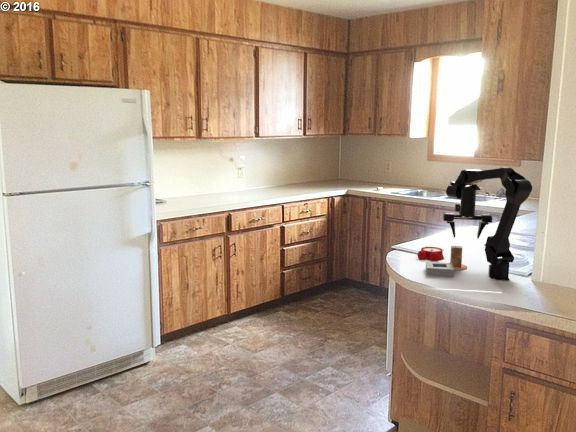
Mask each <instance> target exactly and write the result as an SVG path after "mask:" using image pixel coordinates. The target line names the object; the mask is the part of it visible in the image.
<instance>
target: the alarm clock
mask: <svg viewBox="0 0 576 432" xmlns="http://www.w3.org/2000/svg"><path fill="white" fill-rule="evenodd" d="M443 251H444V249H443V248H441V247H436V246H424V247H421V248H420V250H419V251H418V252H417V255H416V256H417V258H418V259H419V260H420V261H423V260H425V261H433V262H438V261H442V260H444V258H445V257H444V254H443V253H444V252H443Z"/></svg>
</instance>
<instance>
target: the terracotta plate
mask: <svg viewBox="0 0 576 432" xmlns="http://www.w3.org/2000/svg"><path fill="white" fill-rule="evenodd" d="M453 268H454V271H465V270H467V269H468V266H467V265H466V264H463V263H462V264H461V267H453Z"/></svg>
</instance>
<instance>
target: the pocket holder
mask: <svg viewBox="0 0 576 432" xmlns="http://www.w3.org/2000/svg"><path fill="white" fill-rule="evenodd" d="M425 272H426V276H427V277H444V278H445V277H446V278H454V277H455V270H454V268H453V265H452V263H450V262H442V261H441V262H438V261H425Z"/></svg>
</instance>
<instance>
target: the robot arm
mask: <svg viewBox="0 0 576 432" xmlns="http://www.w3.org/2000/svg"><path fill="white" fill-rule="evenodd" d="M494 179H499V180H500V182H501V186H503V188H504V189H505V192H504V194H505V198H506V202H505V205H504V208H503V211H502V214H501V217H500V219H499V222H498V225H497V228H496V231H495V233H494V235H490V236H487V238H486V242H485V244H484V253H485V258H486V261H487V263H489V264H488V274H487V275H488V277H489V278H490V279H492V280H498V281H510V277H509V274H510V263H513V262H514V260H515V256H514V255H513V253H512V252H511V250H510V247H511V243H510V239H509V237H510V235H511V232H512V230H513V228H514V224H515V221H516V219H517V216H518V213H519V211H520V208H521V206H522V204H523V203H524V202H525V201H527V199H528V198H529V196H530V195H531V192H532V191H533V185H532V183H531V181H529V179H527V178H526V177H525V176H523V175H522V174H520V173H519V172H517V171H515V169H513V168H512V167H510V166H502V167H499V168H492V169H484V170H483V169H462V170H461V171H460V173H459V175H458V177H457V178H456V179H455V181H449V185H448V186H447V187H446V190H445V194H446V196H447V197H449V198H452V199H458V200H460V204H459V203H456V204H454V212H455V213H458V214H454V212H443V213H442V220H443V221H444V222H446V223H447V224H449V226H450V229H451V232H452V236H453V239H455V238H456V226H455V225H456V224H455V223H456V221H454V220H465V221H466V220H467V221H468V220H469V221H478V228H477V235H476V239H477V240H478V239H480V236H481V234H482V232H483V230H484V228H485V227H486V226H487V225H489V224H490V223H493V215H492V214H490V213H480V215H476V214H475V213H476V198H477V191H481V188H480V186H478V183H482V182H483V181H485V180H494Z"/></svg>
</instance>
